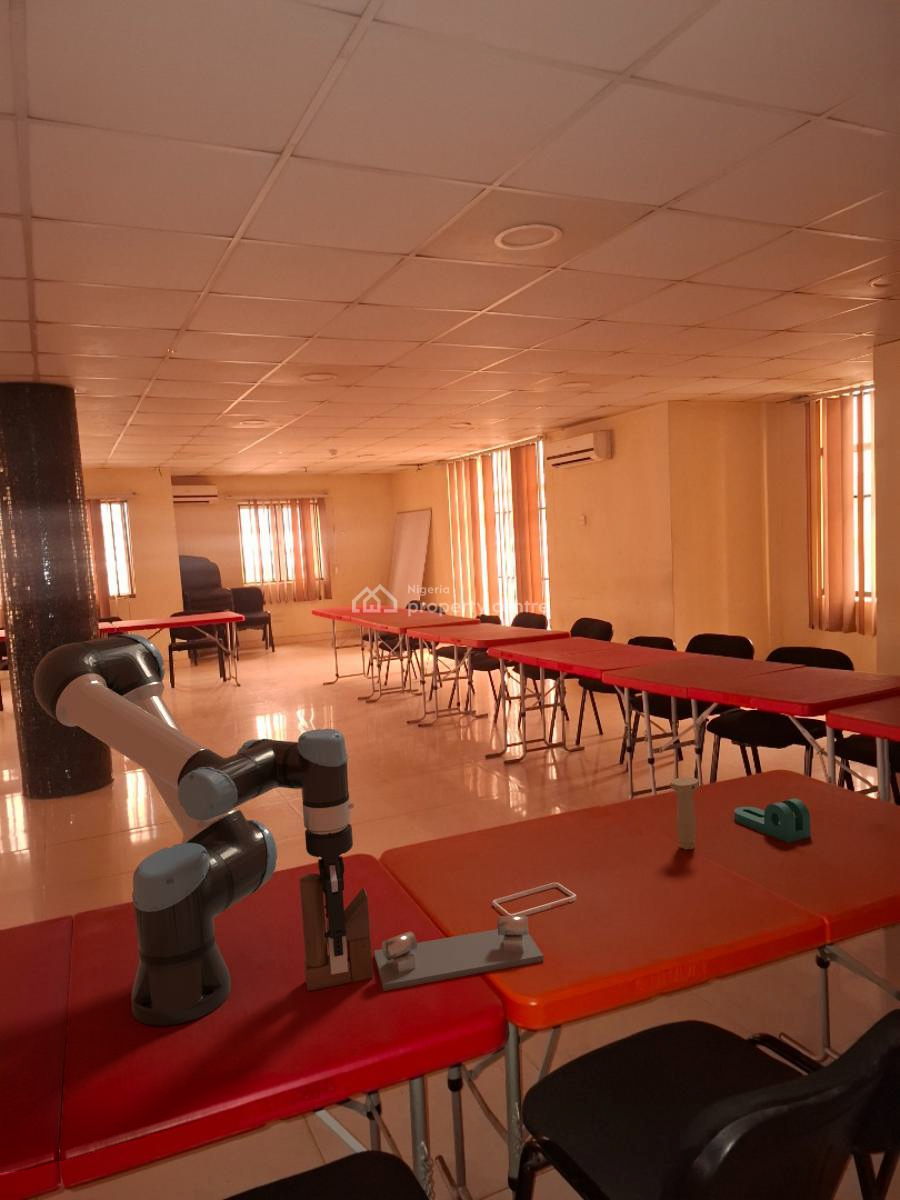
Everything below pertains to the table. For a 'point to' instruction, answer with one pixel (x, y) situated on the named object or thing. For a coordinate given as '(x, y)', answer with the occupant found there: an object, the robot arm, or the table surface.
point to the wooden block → (317, 943)
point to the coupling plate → (457, 959)
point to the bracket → (778, 820)
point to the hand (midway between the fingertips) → (338, 964)
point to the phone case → (531, 891)
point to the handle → (685, 810)
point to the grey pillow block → (400, 952)
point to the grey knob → (513, 932)
